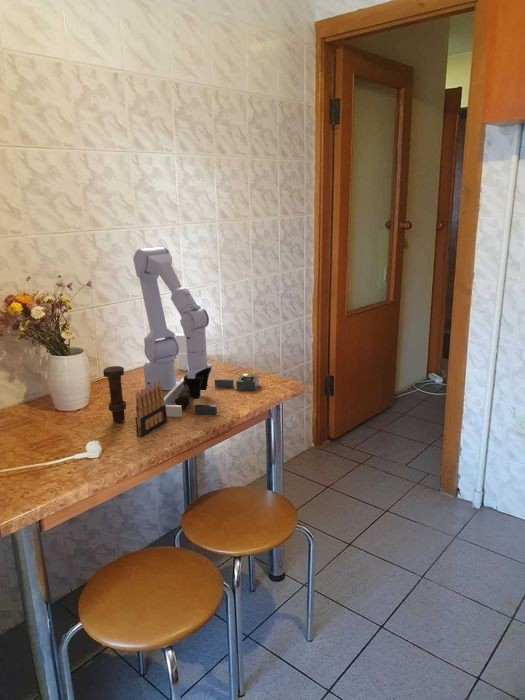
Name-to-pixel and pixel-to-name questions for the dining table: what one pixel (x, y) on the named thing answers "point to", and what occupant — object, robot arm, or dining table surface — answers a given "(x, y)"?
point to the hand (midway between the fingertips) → (199, 394)
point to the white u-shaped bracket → (170, 397)
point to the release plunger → (247, 376)
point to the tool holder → (227, 383)
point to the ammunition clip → (150, 410)
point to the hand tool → (184, 397)
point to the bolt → (116, 392)
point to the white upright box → (182, 351)
